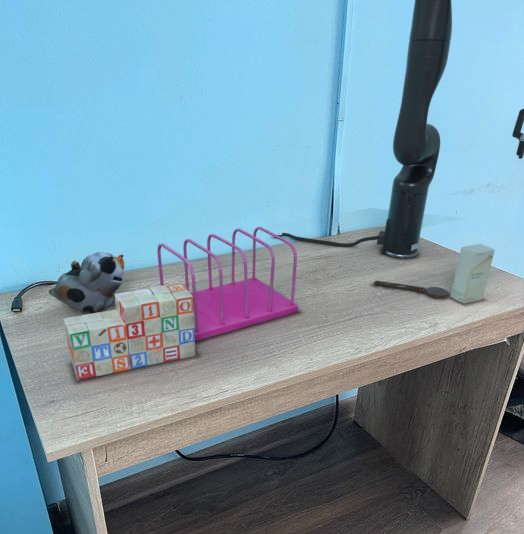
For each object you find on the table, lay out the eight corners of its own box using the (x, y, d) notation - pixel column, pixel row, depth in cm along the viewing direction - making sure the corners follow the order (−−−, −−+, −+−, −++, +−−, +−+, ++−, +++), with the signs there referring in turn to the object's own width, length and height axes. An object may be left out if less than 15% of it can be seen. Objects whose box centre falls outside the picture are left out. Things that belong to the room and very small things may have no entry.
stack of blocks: (77, 381, 90) (65, 317, 84) (71, 363, 95) (59, 301, 88) (196, 355, 98) (193, 295, 92) (185, 340, 103) (182, 281, 97)
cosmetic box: (463, 304, 120) (475, 253, 113) (449, 297, 123) (460, 246, 117) (483, 299, 122) (496, 249, 116) (468, 292, 125) (480, 243, 119)
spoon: (372, 289, 126) (372, 284, 125) (375, 281, 130) (375, 276, 129) (447, 300, 121) (448, 295, 121) (447, 291, 126) (448, 287, 125)
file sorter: (157, 307, 115) (151, 238, 107) (255, 284, 127) (256, 219, 119) (194, 342, 102) (190, 266, 94) (298, 312, 114) (302, 242, 106)
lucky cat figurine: (75, 286, 123) (98, 233, 119) (119, 312, 122) (143, 260, 118) (36, 295, 109) (61, 234, 104) (86, 324, 108) (112, 265, 104)
